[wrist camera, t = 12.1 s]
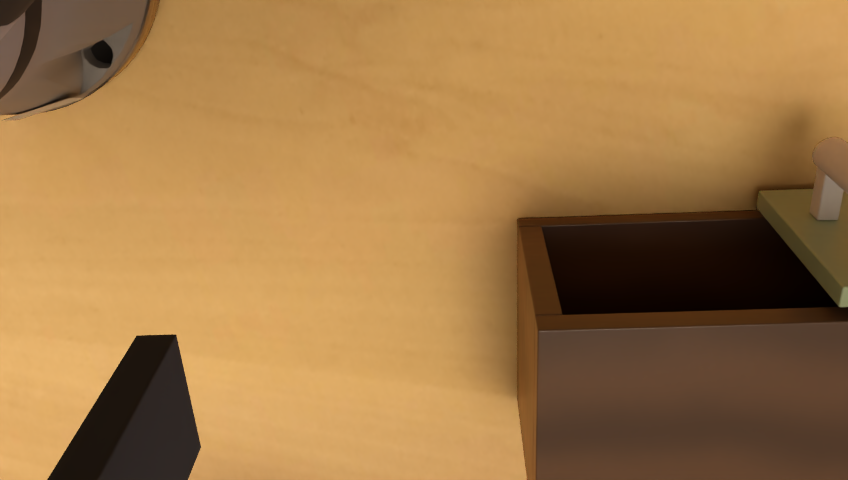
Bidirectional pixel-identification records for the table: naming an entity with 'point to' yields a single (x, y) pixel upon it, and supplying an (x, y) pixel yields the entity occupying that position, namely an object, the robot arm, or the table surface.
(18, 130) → the table surface
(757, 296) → the cabinet
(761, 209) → the sliding door
